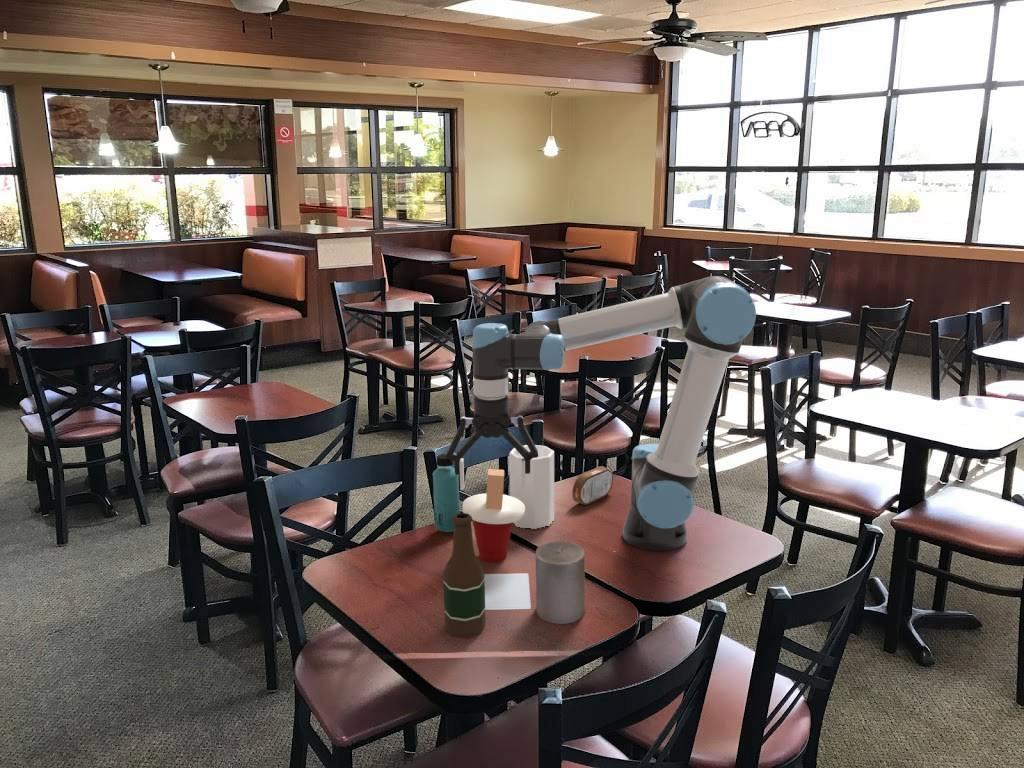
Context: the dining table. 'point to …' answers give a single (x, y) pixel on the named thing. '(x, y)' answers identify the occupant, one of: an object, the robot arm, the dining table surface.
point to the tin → (592, 485)
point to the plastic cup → (492, 540)
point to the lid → (494, 503)
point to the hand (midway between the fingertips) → (492, 487)
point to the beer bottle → (464, 584)
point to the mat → (507, 591)
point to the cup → (534, 487)
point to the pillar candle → (560, 582)
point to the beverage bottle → (445, 494)
